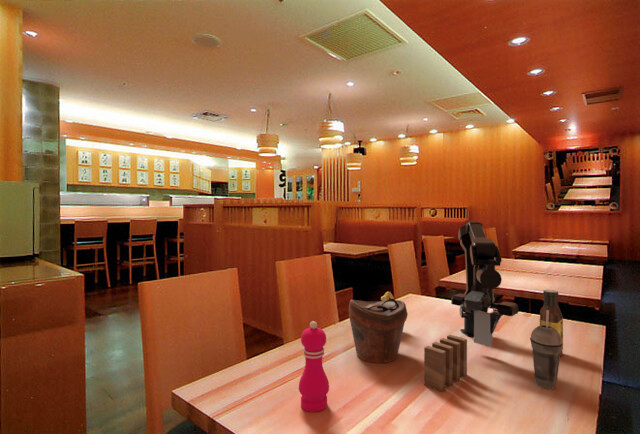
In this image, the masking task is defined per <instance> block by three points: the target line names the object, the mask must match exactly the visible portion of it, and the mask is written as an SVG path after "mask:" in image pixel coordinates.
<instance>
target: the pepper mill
mask: <svg viewBox="0 0 640 434" xmlns="http://www.w3.org/2000/svg"><path fill="white" fill-rule="evenodd" d="M300 342H301V345H302V347H303V349H302V351H303V353H302V354H303V355H302V356H304V358H305V359H304V360H305V362H304V363H305V365H304V369H303V372H302V374H301V376H300V379H299V382H298V391H299V393H300V395H301V396H300V406H301V409H303V410H304V411H305V412H309V413H317V412H321V411H322V412H323V410H325V409H326V408H327V406H328V396H327V395H328V393H329V391H330V384H329V383H330V382H329V379H328V376H327V374H326V372H325V370H324V367H323V356H324V355H325V348H324V346H325V345H326V343H327V335H326V333H325V331H324V330H323V329H321V328H320V327H318V324H317V322H316V321H314V320H312V321H310V323H309V327H307V328H306V329H304V330H303V331H302V333H301V336H300Z"/></svg>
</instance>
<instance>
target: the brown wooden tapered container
mask: <svg viewBox="0 0 640 434" xmlns="http://www.w3.org/2000/svg"><path fill="white" fill-rule="evenodd" d="M348 303H349V306H348V313H349V314H348V318H349V322H350V327H351V332H352V336H353V342H354V347H355V353H356V356H357V357H359V359H361V360H363V361H366V362H370V363H375V364H376V363H377V364H381V363H382V364H385V363H390V362H393V361H395V360H396V359H397V358H398V356H399V351H400V346H401V341H402V337H403V331H404V327H405V324H406V323H405V322H406V321H407V319H408V310H407V305H406V303H405V302H404V301H402V300H398V299H397V300H396V299H395V298H394V299H389V300H387V301H382V300H381V301H365V300H357V299H352V298H351V299H350V300H349V302H348Z"/></svg>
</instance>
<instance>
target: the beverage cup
mask: <svg viewBox="0 0 640 434" xmlns="http://www.w3.org/2000/svg"><path fill="white" fill-rule="evenodd" d="M548 320H549V310H547V314H546V325H541V326H540V325H538V326H537V327H535V328H534V329H533V330H532V332H531V334H530V338H529V340H530V344H531V351H532V358H533V359H532V361H533V370H534V371H533V372H534V379H535V385H536V386H538V387H539V388H542V389H547V390H554V389H556V387H557V383H558V377H559V376H558V375H559V367H560V366H559V365H560V358H561V356H560V352H561V350H562V345H563V346H564V342H563V343H562V339H561V336H560V334H559V333H558V331H557V330H555V329H554V328H553V327H550V326H548ZM562 351H563V350H562Z"/></svg>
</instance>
